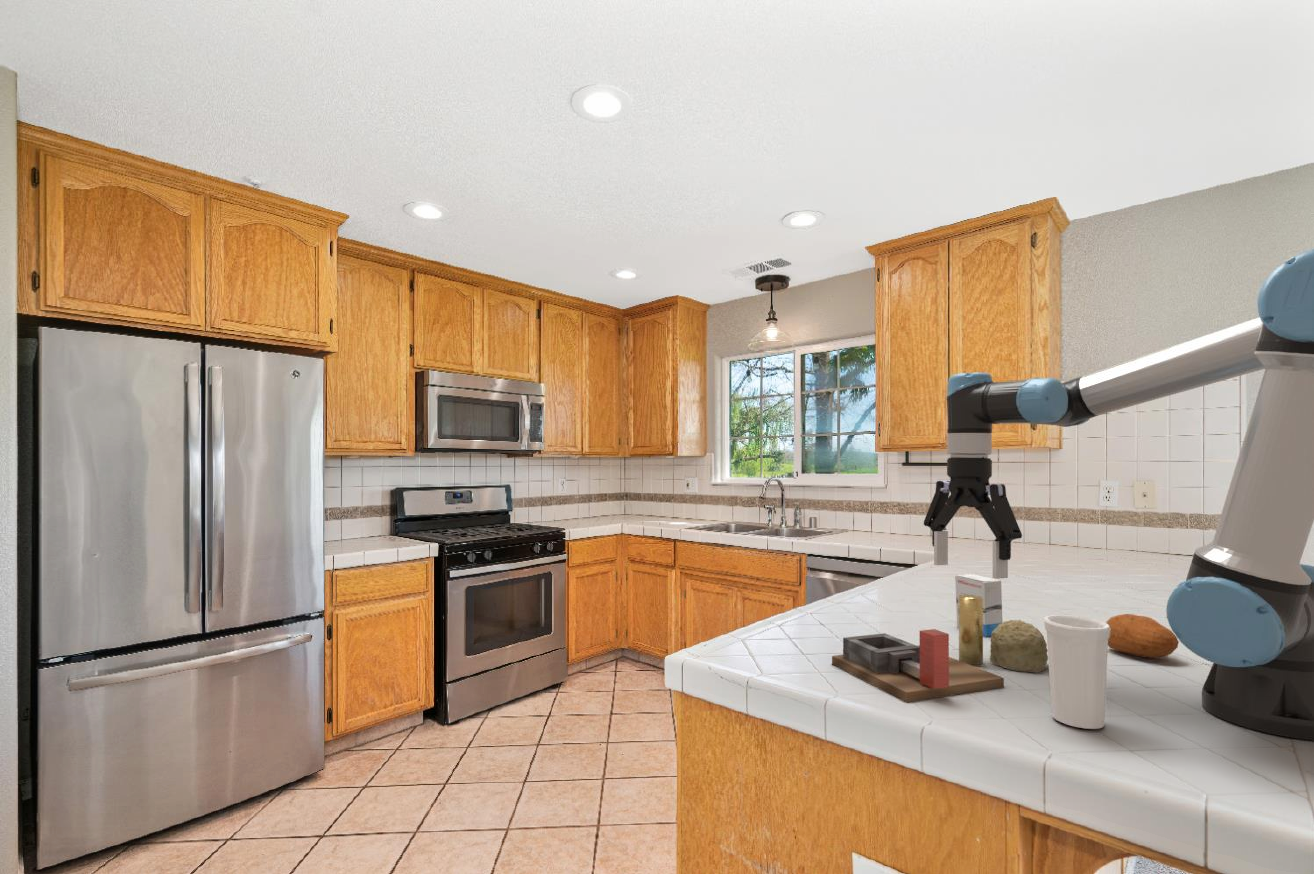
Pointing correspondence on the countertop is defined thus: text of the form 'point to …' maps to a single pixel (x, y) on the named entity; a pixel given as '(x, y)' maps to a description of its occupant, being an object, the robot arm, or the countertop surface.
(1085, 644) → the cup
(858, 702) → the countertop surface
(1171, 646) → the potato
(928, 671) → the pin
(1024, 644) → the decorative object
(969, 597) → the upright brass rod
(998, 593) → the ink box
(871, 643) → the mount
